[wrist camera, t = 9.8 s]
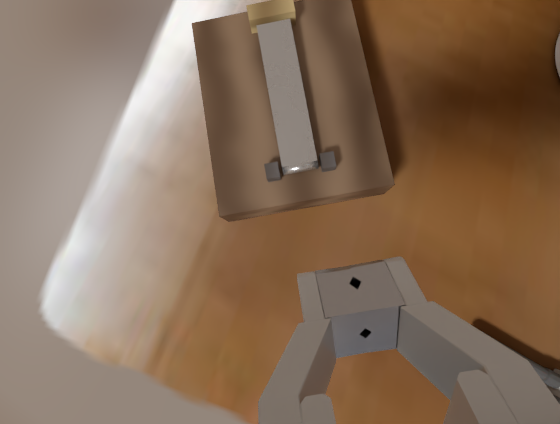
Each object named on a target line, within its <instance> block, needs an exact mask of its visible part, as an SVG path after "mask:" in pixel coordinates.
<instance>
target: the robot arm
mask: <svg viewBox="0 0 560 424" xmlns="http://www.w3.org/2000/svg"><path fill="white" fill-rule="evenodd" d="M555 61H556V67H557V71H558V74H559V77H560V34H559V36H558V39H557V43H556V49H555ZM297 280H298V287H299V293H300V300H301V306H302V313H303V319H304V322H303V323H299V324H298V326H297V328H296V330H295V331H294V333H293V335H292V337H291V339H290V341H289V343H288V345H287V347H286V349H285V351H284V353H283V355H282V357H281V359H280V361H279V362H278V364H277V366H276V368H275V370H274V372H273V374H272V376H271V378H270V380H269V382H268V384H267V386H266V388H265V390H264V392H263V394H262V395H261V397H260V399H259V401H258V418H259V424H336V422H335V417H334V412H333V407H332V402H331V398H329V397H328V396H326V395H325V393H326V390H327V387H328V384H329V381H330V378H331V375H332V372H333V369H334V366H335V363H336V358H340V357H345V356H350V355H356V354H361V353H366V352H374V351H382V350H389V349H397V351H399V352H400V353H401V354H402V355H403V356H404V357H405V358H406V359H407V360H408V361H409V362H410V363H411V364H412V365H413V366H414V367H416V368H417V369H418V370H419V371H420V372H421V373H422V374H423V375H424V376H425V377H426V378H427V379H428V380H429V381H430V382H431V383H433V384H434V385H435V386H436V387H437V388H438V389H439V390H440V391H441V392H442V393H443V394H444V395H445V396H446V397H447V398H448V399H450V404H449V407H448V410H447V414H446V417H445V420H444V423H443V424H560V404H559V403H558V401H557V400H556V399H555V397H554V396H553V394H552V393H551V392H550V390H549V389H548V388H547V386H546V385H545V383H544V382H543V381H542V379H541V378H540V376H539V375H538V374H537V372H536V371H535V370H534V368H533V367H532V365H531V364H530V363H529V361H528V360H526V359H525V358H523V357H522V356H520V355H518V354H517V353H515V352H514V351H512V350H510V349H509V348H507V347H506V346H504V345H502V344H501V343H499V342H498V341H496V340H494V339H493V338H491V337H490V336H488V335H486V334H485V333H483V332H482V331H480V330H478V329H477V328H475V327H474V326H472V325H470V324H469V323H467V322H466V321H464V320H462V319H461V318H459V317H458V316H456V315H454V314H453V313H451V312H450V311H448V310H446V309H445V308H443V307H442V306H440V305H438V304H437V303H435V302H434V301H431V302H427V300H426V298H425V296H424V295H423V293H422V291H421V289H420V287H419V286H418V284H417V282H416V280H415V278H414V277H413V275H412V273H411V271H410V269H409V267H408V266H407V264H406V262H405V260H404V259H403V258H402V257H395V258H389V259H384V260H377V261H372V262H366V263H361V264H355V265H350V266H346V267H339V268H332V269H325V270H318V271H315V272H314V271H313V272H307V273H300V274H297Z"/></svg>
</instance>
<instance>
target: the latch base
mask: <svg viewBox="0 0 560 424" xmlns="http://www.w3.org/2000/svg"><path fill="white" fill-rule="evenodd" d="M286 19H290V21H291V26H292V31H293V36H294V41H295V47H296V52H297V57H298V62H299V67H300V72H301V78H302V83H303V88H304V93H305V98H306V104H307V109H308V114H309V119H310V124H311V129H312V135H313V140H314V145H315V150H316V155H317V160H318V166H319V169H314V170H309V171H303V172H298V173H293V174H287V175H283V171H282V165H281V159H280V154H279V148H278V143H277V137H276V132H275V126H274V120H273V115H272V109H271V104H270V98H269V92H268V87H267V81H266V76H265V70H264V65H263V59H262V53H261V48H260V42H259V37H258V31H257V26H256V25H261V24H266V23H271V22H276V21H281V20H286ZM192 28H193V35H194V42H195V49H196V56H197V63H198V70H199V77H200V84H201V91H202V98H203V105H204V112H205V119H206V127H207V134H208V141H209V148H210V155H211V162H212V169H213V176H214V183H215V190H216V197H217V204H218V211H219V216H220V217H221V218H223V219H225V220H227V221H228V222H231V221H236V220H242V219H247V218H253V217H258V216H264V215H269V214H275V213H280V212H286V211H291V210H297V209H303V208H308V207H314V206H319V205H325V204H330V203H336V202H341V201H347V200H352V199H358V198H364V197H369V196H375V195H380V194H384V193H385V192H386V191H388V190H389V189H390V188H391V187H392V186H393V185H395V184H394V180H393V175H392V171H391V167H390V163H389V158H388V154H387V150H386V146H385V141H384V137H383V133H382V129H381V124H380V120H379V116H378V112H377V107H376V103H375V99H374V95H373V91H372V86H371V82H370V78H369V74H368V69H367V65H366V61H365V57H364V52H363V48H362V44H361V40H360V35H359V31H358V27H357V23H356V18H355V14H354V10H353V6H352V2H351V0H303V1H298V2H293V0H271V1H266V2H261V3H256V4H252V5H247V12H244V13H239V14H234V15H230V16H225V17H220V18H215V19H210V20H205V21H200V22H196V23H192Z"/></svg>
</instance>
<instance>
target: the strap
mask: <svg viewBox="0 0 560 424" xmlns="http://www.w3.org/2000/svg"><path fill="white" fill-rule="evenodd" d="M256 26H257V31H258V37H259V42H260V48H261V53H262V59H263V65H264V70H265V76H266V81H267V87H268V92H269V98H270V104H271V109H272V115H273V120H274V126H275V132H276V137H277V143H278V148H279V154H280V159H281V165H282V171H283V175H287V174H293V173H298V172H303V171H309V170H314V169H319V166H318V160H317V155H316V150H315V145H314V140H313V135H312V129H311V124H310V119H309V114H308V109H307V104H306V98H305V93H304V88H303V83H302V78H301V72H300V67H299V62H298V57H297V52H296V47H295V41H294V36H293V31H292V26H291V21H290V19H286V20H281V21H276V22H271V23H266V24H261V25H256Z"/></svg>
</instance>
